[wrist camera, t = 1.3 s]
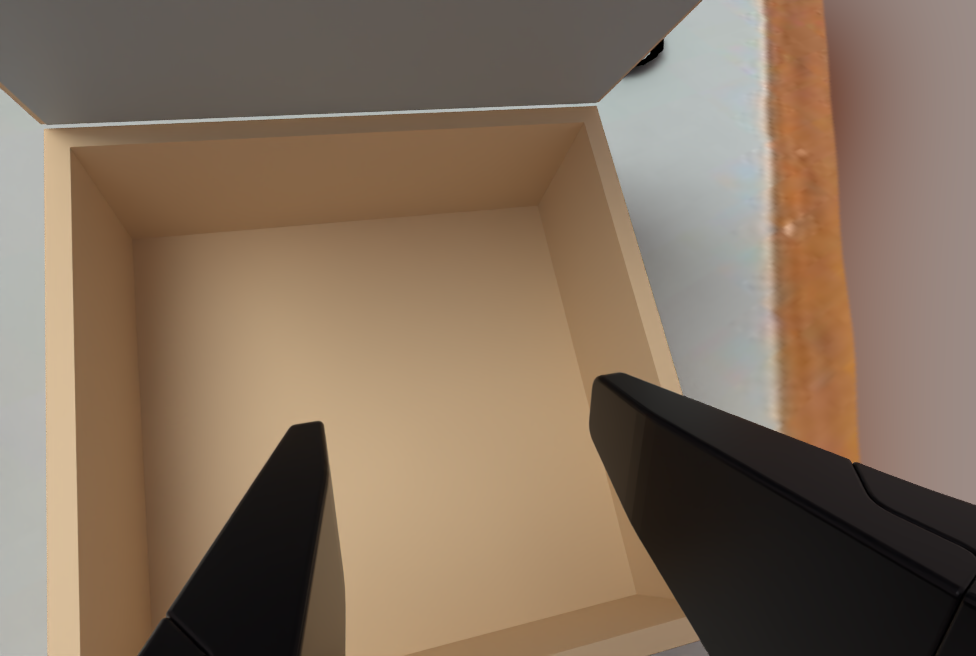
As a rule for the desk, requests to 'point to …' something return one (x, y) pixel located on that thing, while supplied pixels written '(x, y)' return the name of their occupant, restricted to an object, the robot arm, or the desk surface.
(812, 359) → the desk surface
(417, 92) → the mailer lid
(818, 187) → the desk surface
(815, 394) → the desk surface
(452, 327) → the mailer box
